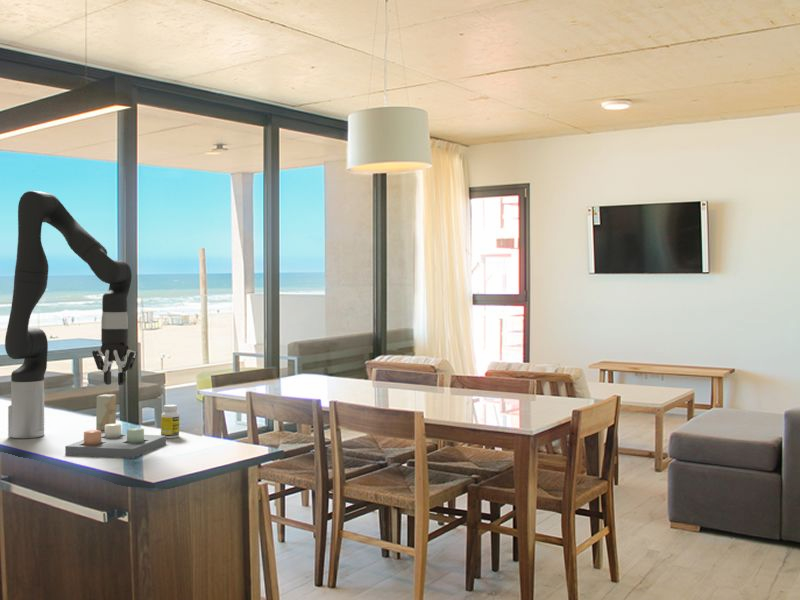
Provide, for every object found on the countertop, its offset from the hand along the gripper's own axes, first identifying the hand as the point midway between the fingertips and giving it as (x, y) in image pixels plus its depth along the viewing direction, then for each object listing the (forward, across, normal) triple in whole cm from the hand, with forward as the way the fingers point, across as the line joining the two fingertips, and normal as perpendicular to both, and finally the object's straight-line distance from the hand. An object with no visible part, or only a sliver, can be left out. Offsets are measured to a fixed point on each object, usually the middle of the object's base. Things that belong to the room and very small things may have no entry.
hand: (114, 384), depth 241 cm
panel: (+17, +6, -10) cm, 21 cm away
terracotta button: (+15, +2, -16) cm, 22 cm away
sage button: (+15, +12, -10) cm, 22 cm away
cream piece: (+15, +2, -5) cm, 16 cm away
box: (+17, -13, +18) cm, 28 cm away
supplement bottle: (+17, +13, +10) cm, 24 cm away
